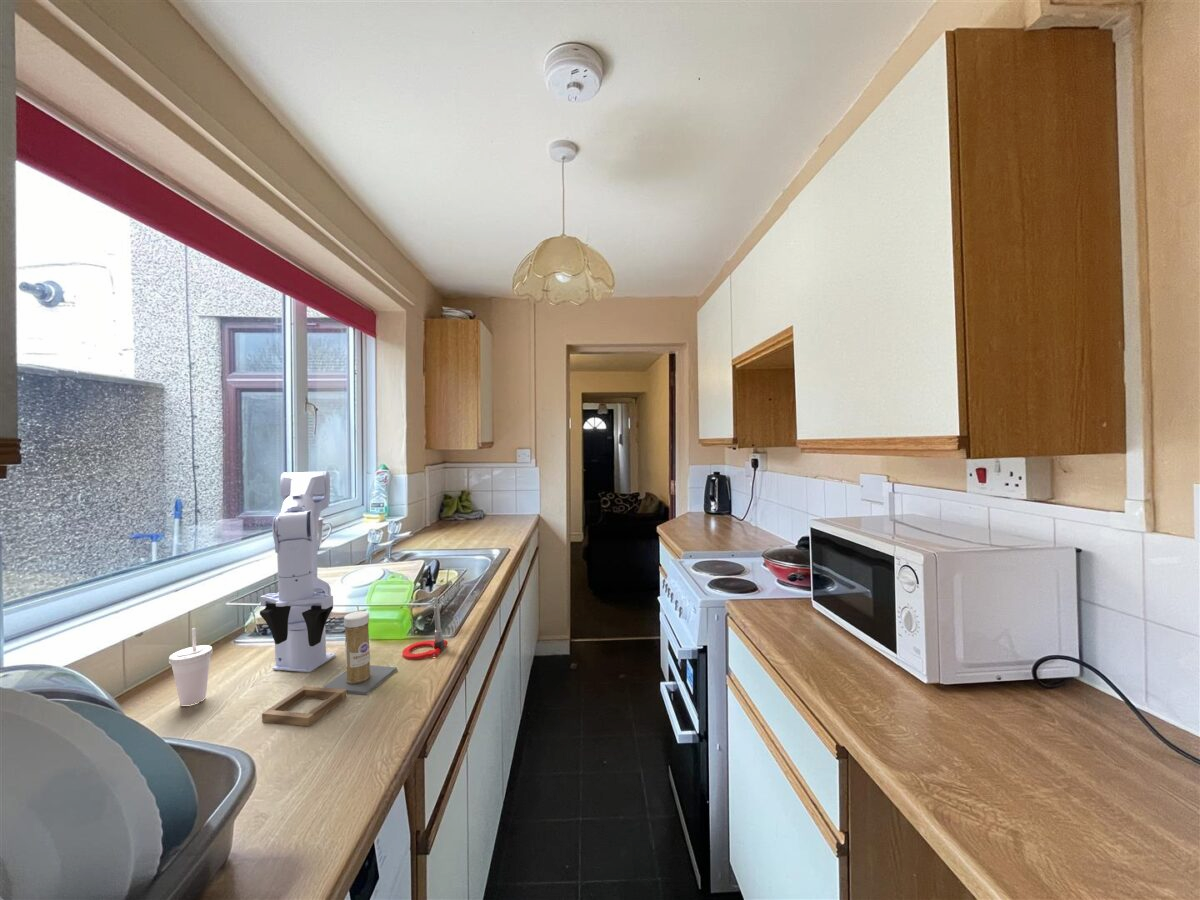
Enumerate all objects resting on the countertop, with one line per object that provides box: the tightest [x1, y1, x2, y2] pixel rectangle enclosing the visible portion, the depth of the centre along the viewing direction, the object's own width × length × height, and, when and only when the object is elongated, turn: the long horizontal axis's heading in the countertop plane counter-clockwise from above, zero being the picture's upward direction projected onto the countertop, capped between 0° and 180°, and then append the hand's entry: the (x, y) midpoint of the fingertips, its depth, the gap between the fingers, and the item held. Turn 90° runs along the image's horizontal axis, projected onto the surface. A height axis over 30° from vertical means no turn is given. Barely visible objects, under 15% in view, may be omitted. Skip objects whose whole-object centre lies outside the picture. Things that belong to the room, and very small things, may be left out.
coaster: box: [322, 664, 398, 696], centre depth 98 cm, size 10×10×1 cm
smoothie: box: [168, 627, 213, 705], centre depth 91 cm, size 6×6×14 cm
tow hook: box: [401, 596, 448, 660], centre depth 111 cm, size 8×13×9 cm
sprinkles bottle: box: [343, 610, 371, 684], centre depth 97 cm, size 5×5×13 cm
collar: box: [261, 685, 348, 727], centre depth 88 cm, size 9×9×2 cm
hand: (298, 643), depth 92 cm, fingers open, 7 cm apart
